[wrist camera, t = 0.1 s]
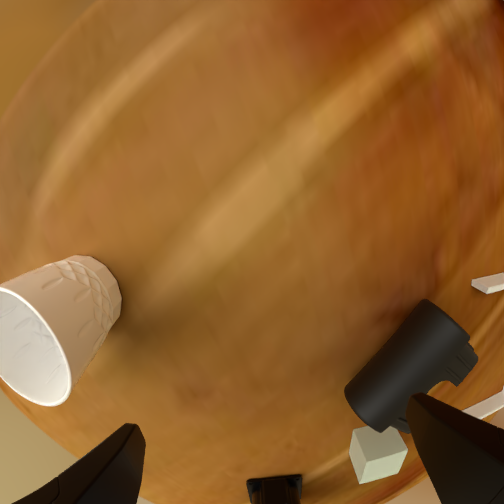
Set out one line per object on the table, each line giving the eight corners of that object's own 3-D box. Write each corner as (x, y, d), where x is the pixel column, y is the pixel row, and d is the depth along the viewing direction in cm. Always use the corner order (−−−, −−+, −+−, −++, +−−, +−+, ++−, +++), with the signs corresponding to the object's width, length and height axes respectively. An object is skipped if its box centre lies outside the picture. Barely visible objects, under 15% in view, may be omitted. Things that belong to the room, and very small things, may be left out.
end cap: (409, 285, 23) (454, 317, 16) (447, 324, 24) (488, 357, 17) (333, 373, 24) (355, 424, 18) (380, 399, 26) (405, 444, 19)
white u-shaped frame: (503, 392, 27) (514, 403, 24) (435, 424, 27) (445, 439, 24) (538, 263, 23) (554, 270, 20) (471, 279, 23) (491, 289, 20)
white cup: (140, 332, 23) (93, 411, 13) (68, 337, 23) (9, 400, 13) (114, 239, 21) (37, 279, 11) (41, 255, 21) (-38, 293, 12)
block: (384, 443, 27) (398, 472, 23) (348, 452, 27) (359, 484, 22) (391, 419, 26) (408, 449, 21) (353, 428, 26) (366, 462, 21)
